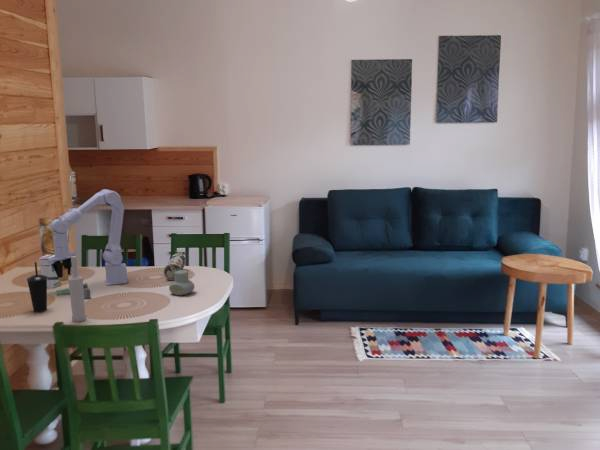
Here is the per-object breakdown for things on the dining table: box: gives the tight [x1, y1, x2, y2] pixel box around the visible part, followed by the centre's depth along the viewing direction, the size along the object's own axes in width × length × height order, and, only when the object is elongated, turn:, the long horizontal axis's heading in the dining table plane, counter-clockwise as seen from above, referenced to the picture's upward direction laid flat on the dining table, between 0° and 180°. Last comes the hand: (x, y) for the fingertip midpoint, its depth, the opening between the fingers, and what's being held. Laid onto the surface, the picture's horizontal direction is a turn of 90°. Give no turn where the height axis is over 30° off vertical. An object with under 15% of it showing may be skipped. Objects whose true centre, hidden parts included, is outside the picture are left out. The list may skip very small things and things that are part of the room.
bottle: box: [67, 256, 87, 323], centre depth 213 cm, size 5×5×25 cm
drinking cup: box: [26, 262, 48, 313], centre depth 225 cm, size 8×8×20 cm
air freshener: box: [168, 269, 195, 296], centre depth 246 cm, size 11×8×10 cm
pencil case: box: [163, 251, 187, 281], centre depth 275 cm, size 22×8×10 cm, turn 5°
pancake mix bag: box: [37, 217, 71, 268], centre depth 278 cm, size 7×19×28 cm, turn 65°
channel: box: [83, 282, 92, 300], centre depth 244 cm, size 6×12×4 cm, turn 27°
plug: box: [47, 268, 69, 282], centre depth 249 cm, size 9×4×5 cm, turn 95°
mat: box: [56, 288, 70, 296], centre depth 251 cm, size 7×7×1 cm
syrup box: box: [39, 255, 62, 289], centre depth 259 cm, size 6×6×14 cm
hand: (63, 275), depth 249 cm, fingers closed on plug, 4 cm apart
